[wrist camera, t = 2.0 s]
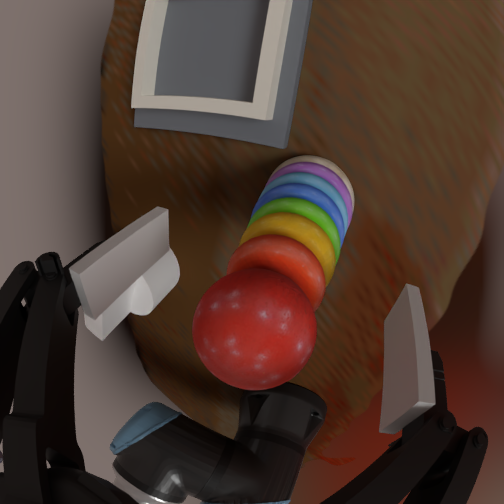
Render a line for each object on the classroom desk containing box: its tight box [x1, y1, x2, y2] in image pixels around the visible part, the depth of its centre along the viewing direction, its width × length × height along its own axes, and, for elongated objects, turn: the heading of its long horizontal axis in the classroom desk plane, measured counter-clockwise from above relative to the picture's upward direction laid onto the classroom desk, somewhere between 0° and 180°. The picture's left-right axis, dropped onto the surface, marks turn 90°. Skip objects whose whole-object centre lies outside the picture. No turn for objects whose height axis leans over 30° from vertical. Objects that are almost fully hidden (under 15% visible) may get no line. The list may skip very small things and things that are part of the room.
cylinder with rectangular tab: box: [84, 248, 180, 341], centre depth 30 cm, size 9×9×12 cm
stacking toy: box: [192, 155, 354, 390], centre depth 16 cm, size 8×8×19 cm
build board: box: [131, 0, 313, 149], centre depth 18 cm, size 18×16×4 cm
